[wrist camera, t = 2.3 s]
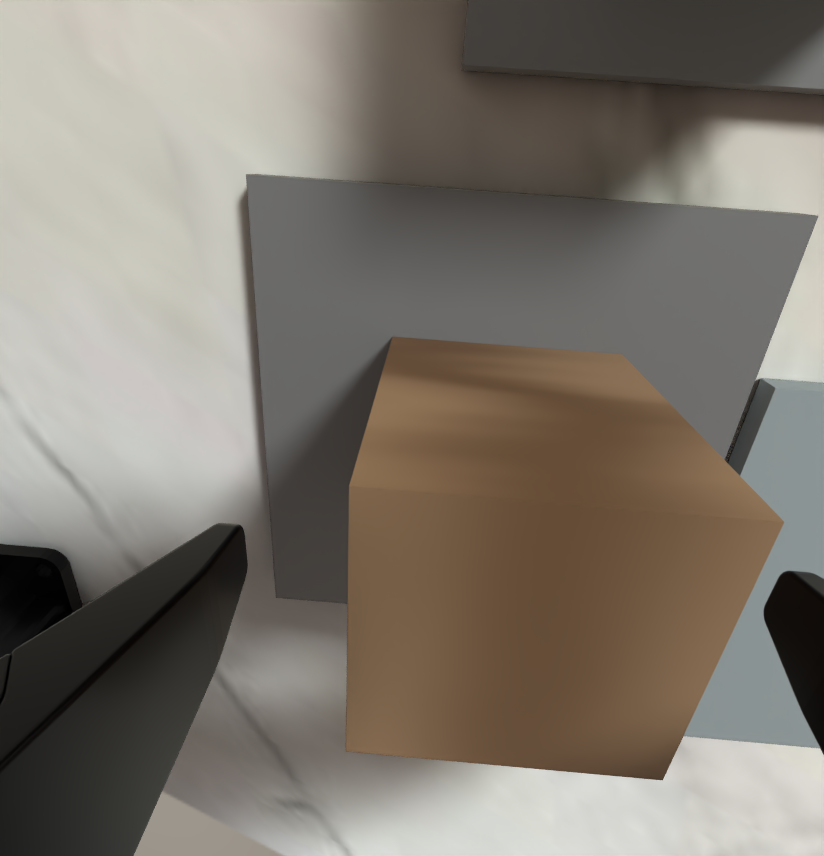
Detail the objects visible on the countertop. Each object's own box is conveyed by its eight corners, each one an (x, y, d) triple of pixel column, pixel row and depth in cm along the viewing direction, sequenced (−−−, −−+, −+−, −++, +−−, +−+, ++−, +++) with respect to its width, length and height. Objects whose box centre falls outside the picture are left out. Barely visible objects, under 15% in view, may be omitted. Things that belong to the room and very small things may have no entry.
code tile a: (281, 582, 16) (275, 598, 15) (255, 174, 11) (245, 174, 10) (651, 614, 15) (659, 630, 15) (798, 213, 10) (819, 216, 10)
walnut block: (383, 522, 14) (345, 751, 8) (392, 336, 11) (348, 486, 6) (575, 538, 14) (662, 779, 8) (622, 354, 11) (785, 521, 6)
